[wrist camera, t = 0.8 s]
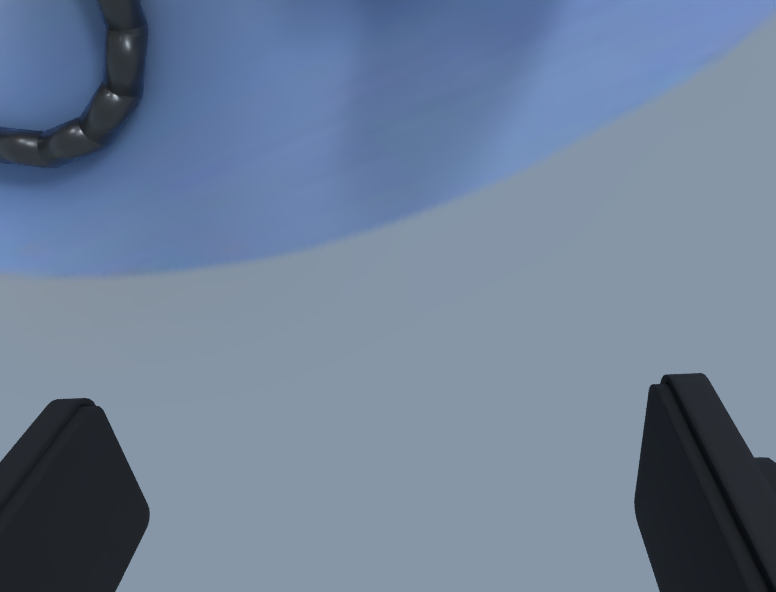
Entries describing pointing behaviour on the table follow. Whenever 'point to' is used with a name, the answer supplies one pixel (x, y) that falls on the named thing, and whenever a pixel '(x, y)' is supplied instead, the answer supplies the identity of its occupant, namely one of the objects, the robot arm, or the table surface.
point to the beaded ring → (106, 105)
